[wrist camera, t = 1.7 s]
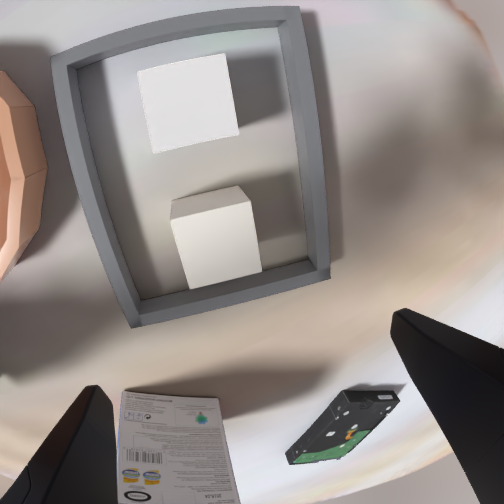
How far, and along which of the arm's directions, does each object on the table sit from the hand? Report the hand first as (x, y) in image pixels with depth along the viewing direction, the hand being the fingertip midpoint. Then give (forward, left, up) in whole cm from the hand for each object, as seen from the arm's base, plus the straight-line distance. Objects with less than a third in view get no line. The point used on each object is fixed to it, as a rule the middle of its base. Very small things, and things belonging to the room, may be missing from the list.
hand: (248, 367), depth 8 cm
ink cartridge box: (-19, +9, -14) cm, 25 cm away
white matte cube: (-1, 0, -14) cm, 14 cm away
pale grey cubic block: (+7, 0, -14) cm, 16 cm away
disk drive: (-33, -10, -14) cm, 37 cm away
